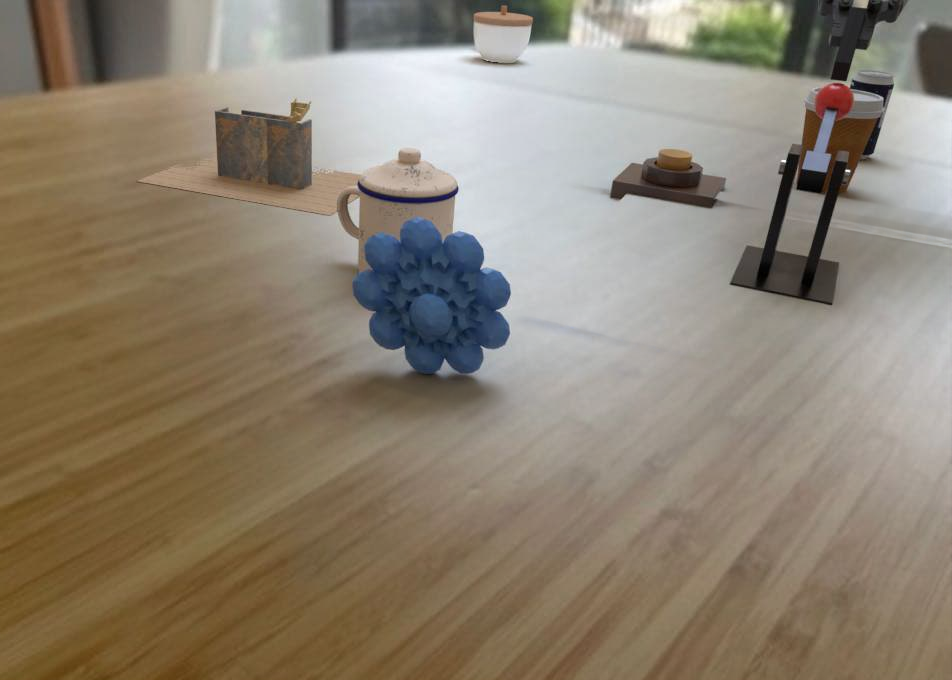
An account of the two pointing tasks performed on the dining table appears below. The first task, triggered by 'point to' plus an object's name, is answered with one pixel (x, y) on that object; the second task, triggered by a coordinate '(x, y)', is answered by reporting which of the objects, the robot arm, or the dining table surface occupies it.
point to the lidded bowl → (501, 35)
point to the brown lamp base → (668, 183)
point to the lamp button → (674, 159)
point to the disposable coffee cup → (842, 131)
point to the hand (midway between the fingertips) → (840, 71)
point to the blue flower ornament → (433, 297)
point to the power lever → (824, 134)
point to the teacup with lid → (399, 199)
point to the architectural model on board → (263, 163)
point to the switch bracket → (792, 270)
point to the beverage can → (881, 86)
